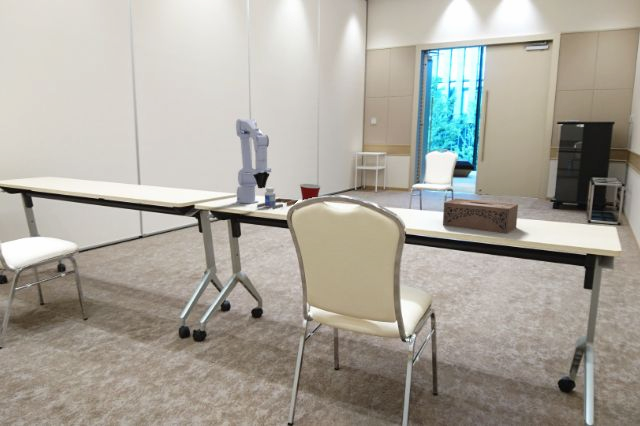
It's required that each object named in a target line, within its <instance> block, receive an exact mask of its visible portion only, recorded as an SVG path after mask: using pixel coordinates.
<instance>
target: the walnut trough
mask: <svg viewBox="0 0 640 426" xmlns="http://www.w3.org/2000/svg"><path fill="white" fill-rule="evenodd" d="M298 200H299V199H296V198H295V199H293V198H283V197H279V198H276V204H277V203H279V202H280V203H286V206H292V205H295V204H294V203H296V202H297V201H298Z"/></svg>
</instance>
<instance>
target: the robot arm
mask: <svg viewBox="0 0 640 426" xmlns="http://www.w3.org/2000/svg"><path fill="white" fill-rule="evenodd" d="M257 126H258V124H257V121H256V119H255V118H254V119H243V118H242V119H239V118H237V120H236V123H235V132H236V136H237V137H238V138H239V140H240V149H241V159H242V160H241V161H242V163H241V164H242V168H241V169H239V170H238V172H237V174H238V175H237V182H238V186H237V188H236V201H235V203H241V204H249V205H250V204H255V203H259V200H256V186H257V188H258V189H265V188H266V187H267V182H268V179H269V176H270V173H272V168H268V147H269V144H270V139H269V136H268V135H267V134H265V135H264V133H263V132H262V130H261V129H260V128H258V127H257ZM250 138H251V139H252V140H253V148H254V152H255V153H254V156H255V160H254V161H255V162H254V163H255V164H254V165H255V168H254V167H253V165H252V153H251V152H252V151H251V139H250Z"/></svg>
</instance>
